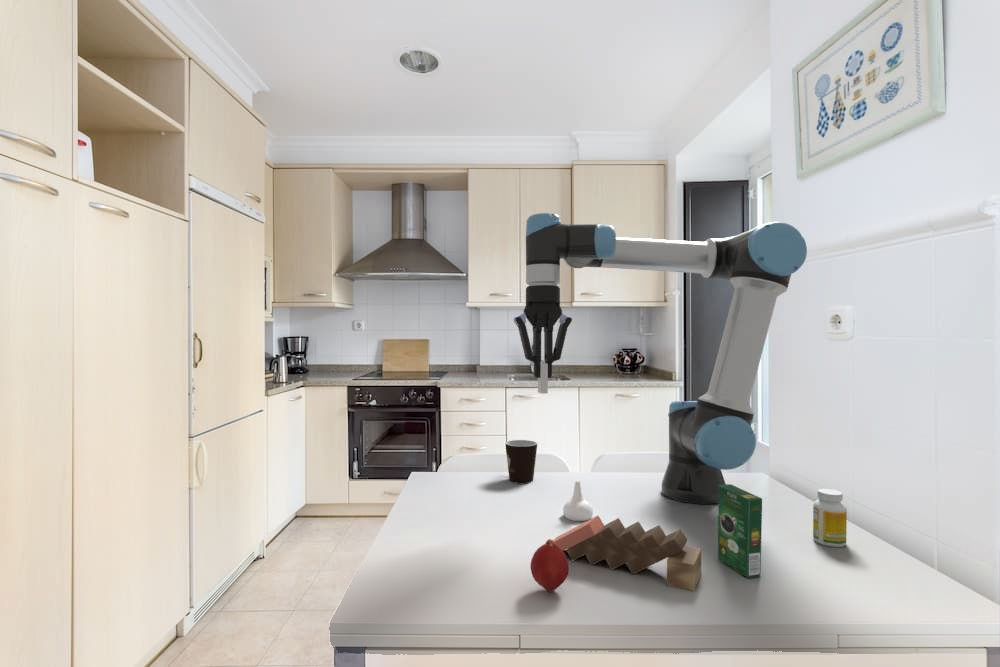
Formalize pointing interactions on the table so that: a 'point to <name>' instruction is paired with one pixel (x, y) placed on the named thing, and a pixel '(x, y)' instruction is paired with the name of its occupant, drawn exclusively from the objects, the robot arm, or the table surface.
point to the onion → (549, 566)
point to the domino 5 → (659, 552)
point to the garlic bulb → (577, 506)
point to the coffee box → (740, 530)
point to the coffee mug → (521, 460)
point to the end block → (684, 568)
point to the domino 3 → (617, 543)
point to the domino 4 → (637, 548)
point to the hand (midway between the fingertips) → (542, 392)
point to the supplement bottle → (829, 518)
